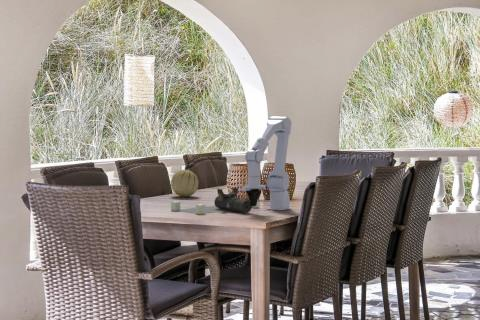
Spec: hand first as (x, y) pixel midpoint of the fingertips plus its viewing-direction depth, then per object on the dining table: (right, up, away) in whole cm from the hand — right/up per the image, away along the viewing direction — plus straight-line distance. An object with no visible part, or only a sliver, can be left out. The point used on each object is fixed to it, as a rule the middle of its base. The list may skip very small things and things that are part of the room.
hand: (253, 206), depth 373 cm
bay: (-18, -2, +16) cm, 24 cm away
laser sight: (-10, -3, +9) cm, 13 cm away
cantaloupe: (-36, +1, +68) cm, 77 cm away
